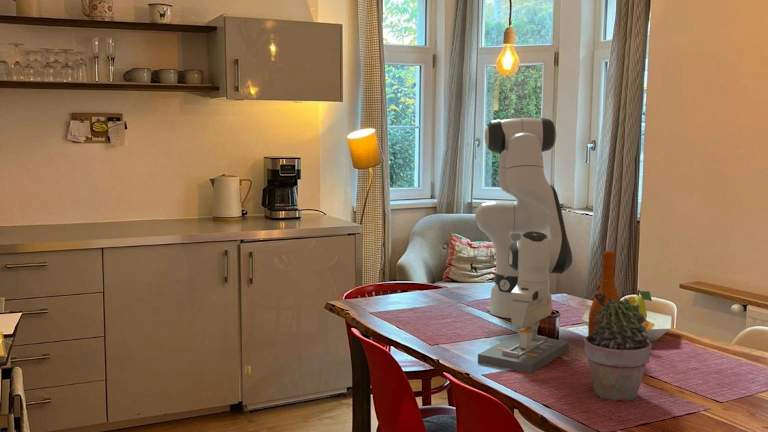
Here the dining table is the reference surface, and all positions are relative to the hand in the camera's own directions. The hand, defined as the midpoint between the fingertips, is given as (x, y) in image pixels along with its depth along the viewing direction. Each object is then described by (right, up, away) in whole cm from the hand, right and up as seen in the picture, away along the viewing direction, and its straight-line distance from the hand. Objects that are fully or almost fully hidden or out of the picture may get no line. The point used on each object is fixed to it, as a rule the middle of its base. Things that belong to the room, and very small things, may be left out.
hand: (531, 336), depth 221 cm
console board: (-3, -5, -3) cm, 6 cm away
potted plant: (+15, -9, -33) cm, 37 cm away
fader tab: (-2, -2, -3) cm, 4 cm away
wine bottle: (+21, -5, -1) cm, 21 cm away
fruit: (+34, -3, +21) cm, 39 cm away
